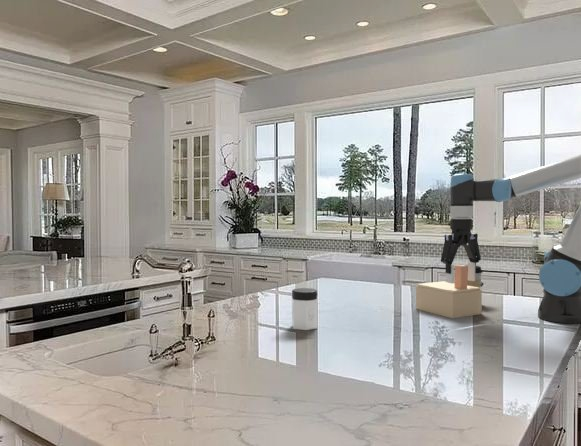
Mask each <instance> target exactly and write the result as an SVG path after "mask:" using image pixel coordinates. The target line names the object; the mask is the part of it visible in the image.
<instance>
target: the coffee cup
mask: <svg viewBox="0 0 581 446" xmlns="http://www.w3.org/2000/svg"><path fill="white" fill-rule="evenodd" d="M465 266H467V285H468V286H473V287H479V288H480V289H481V286H482V285H481V284H482V283H481V282H482V274H483V269H482V267H481V266H479V265H476V271H475V281H469V280H468V264H466V265H465Z"/></svg>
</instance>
